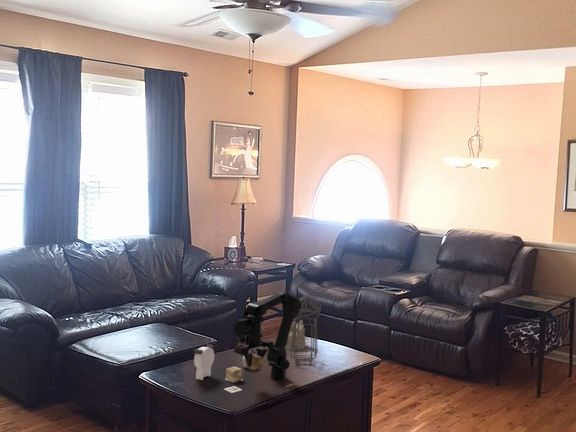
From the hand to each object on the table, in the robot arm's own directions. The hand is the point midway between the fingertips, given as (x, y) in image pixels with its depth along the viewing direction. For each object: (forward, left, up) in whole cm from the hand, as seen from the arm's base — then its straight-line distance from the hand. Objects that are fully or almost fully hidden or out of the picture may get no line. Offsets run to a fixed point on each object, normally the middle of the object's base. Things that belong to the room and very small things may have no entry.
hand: (253, 365), depth 275 cm
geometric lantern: (-44, -13, -11) cm, 47 cm away
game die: (-16, -23, -11) cm, 30 cm away
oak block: (+1, -13, -10) cm, 16 cm away
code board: (+5, -6, -10) cm, 13 cm away
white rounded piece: (+10, -24, -11) cm, 28 cm away
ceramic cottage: (-60, -40, -11) cm, 73 cm away
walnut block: (0, 0, -1) cm, 1 cm away
